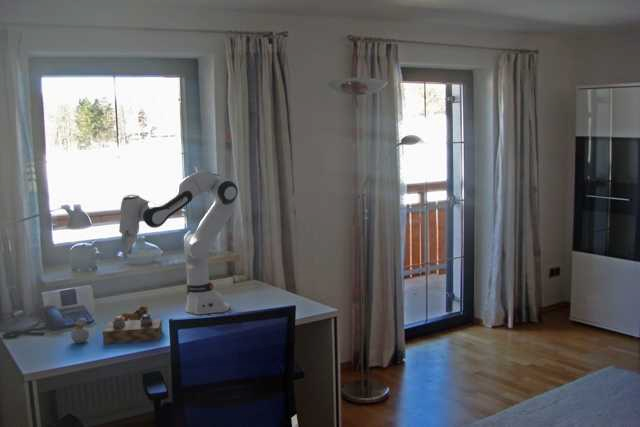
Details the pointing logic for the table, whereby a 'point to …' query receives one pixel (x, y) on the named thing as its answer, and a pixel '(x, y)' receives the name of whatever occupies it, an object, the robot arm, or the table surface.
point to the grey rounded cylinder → (118, 322)
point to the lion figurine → (135, 314)
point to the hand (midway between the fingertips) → (127, 256)
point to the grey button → (146, 320)
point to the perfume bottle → (80, 331)
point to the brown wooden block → (132, 332)
